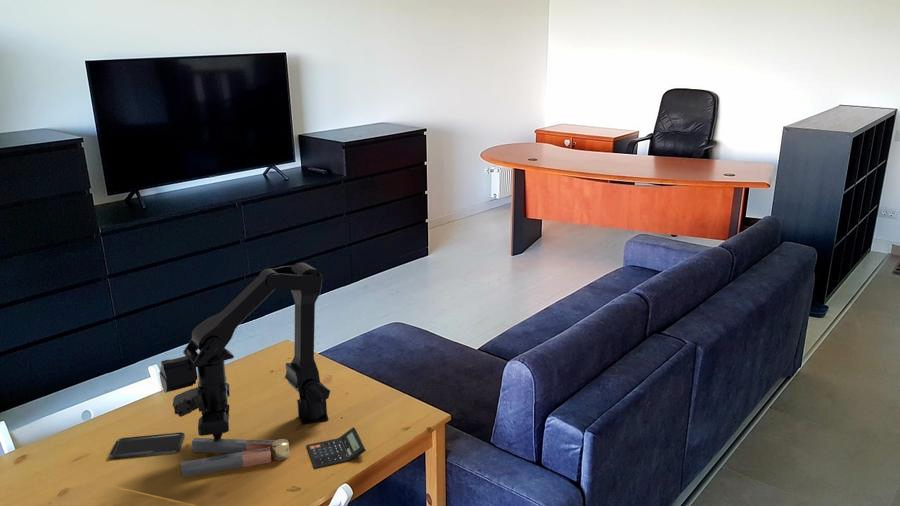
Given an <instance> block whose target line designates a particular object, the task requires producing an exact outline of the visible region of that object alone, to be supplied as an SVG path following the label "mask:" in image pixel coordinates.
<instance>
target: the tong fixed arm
mask: <svg viewBox="0 0 900 506" xmlns="http://www.w3.org/2000/svg"><path fill="white" fill-rule="evenodd" d="M268 463H270V464H271V463H272V455H271V452H270V447H268V448H262V449H256V450H250V451H244V452H239V453H226V454H221V455H216V456H211V457H210V456H209V457H205V458H203V457H202V458H198V459H192V460H186V461H181V462H180V468H181V469H180V470H181V476H182V478H187V477H191V476H197V475H204V474H208V473H215V472H220V471H226V470H232V469H237V468H245V467H253V466H259V465H263V464H268Z"/></svg>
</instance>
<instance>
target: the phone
mask: <svg viewBox="0 0 900 506" xmlns="http://www.w3.org/2000/svg"><path fill="white" fill-rule="evenodd" d="M184 440H185V433H184V432H172V433H161V434H160V433H159V434H152V435H150V434H149V435H139V436H131V437H130V436H129V437H121V438H118V439H117V440H116V441H115V443H114V444H113V447H112V449H111V451H110V453H109V459H110V460H121V459H123V460H125V459H130V458H131V459H133V458H138V457H149V456H157V455H158V456H160V455H169V454H171V455H172V454H177V453H179V452H180V451H181V448H182V446H183V443H184Z"/></svg>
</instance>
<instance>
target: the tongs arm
mask: <svg viewBox="0 0 900 506" xmlns="http://www.w3.org/2000/svg"><path fill="white" fill-rule="evenodd" d="M191 446H192V452H193V453H210V454H211V453H212V454H213V453H215V454H233V453H239V452H244V451H250V450H256V449H262V448H268V447H270V452H271V456H272V458H273V460H275V461H284V460H287V459H288V458H289V457H290V456H291V455H290V443H289V440H288V439H286V438H279V439H276V440H274V439H271V440H270V439H250V438H248V439H243V438H242V439H239V438H238V439H237V438H236V439H235V438H231V439H230V438H221V439H215V438H214V437H211V438H210V437H208V438H207V437H193V439H192V441H191Z"/></svg>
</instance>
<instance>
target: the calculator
mask: <svg viewBox="0 0 900 506" xmlns="http://www.w3.org/2000/svg"><path fill="white" fill-rule="evenodd" d="M306 448H307V451H308V454H309V456H310V457H309V458H310V459H311V462H312V466H313V469H320V468H324V467H329V466H333V465H339V464H343V463H347V462H352V461H353V460H355V459H357V458H358V457H359V456H360V455H362V454H364V452H366V448H365V446H364V444H363V441H362V440H361V438H360V436H359V433H358V432H357V430H356V428H355V426H353V427H352V428H350V429H349V430H348V431H346V432H345V433H344V434H342V435H341V436H339V437H337V438H332V439H329V440H323V441H318V442H314V443H310V444H306Z"/></svg>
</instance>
